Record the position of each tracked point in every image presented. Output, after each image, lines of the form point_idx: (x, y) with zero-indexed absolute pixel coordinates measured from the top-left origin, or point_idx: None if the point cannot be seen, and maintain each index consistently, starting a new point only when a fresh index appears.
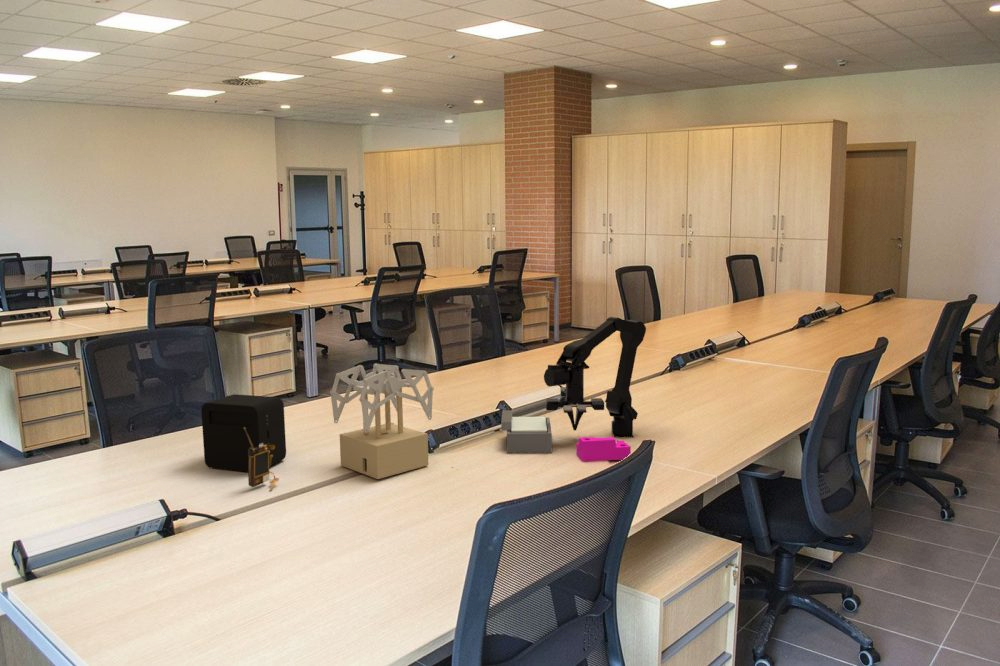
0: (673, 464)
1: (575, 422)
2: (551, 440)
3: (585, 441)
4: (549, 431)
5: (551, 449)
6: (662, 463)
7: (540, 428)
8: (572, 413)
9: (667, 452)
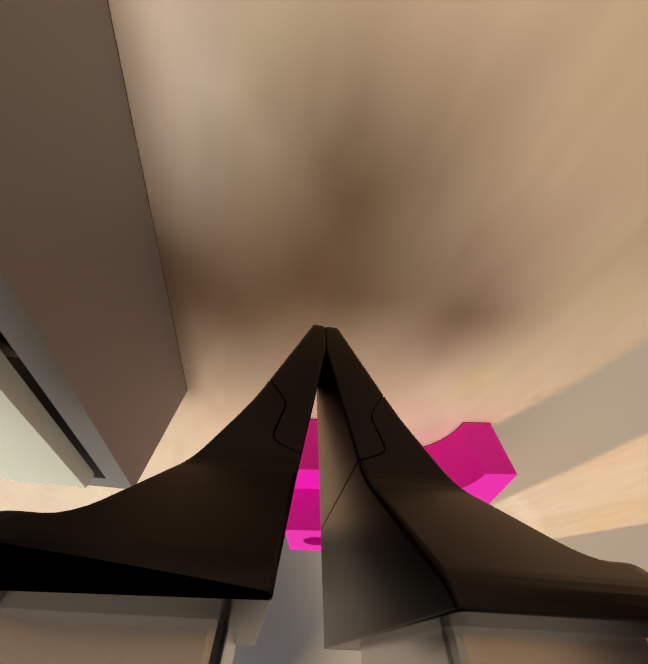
0: (534, 504)
1: (320, 423)
2: (155, 446)
3: (301, 549)
4: (107, 467)
5: (178, 404)
6: (515, 498)
7: (10, 457)
8: (254, 595)
9: (642, 446)
